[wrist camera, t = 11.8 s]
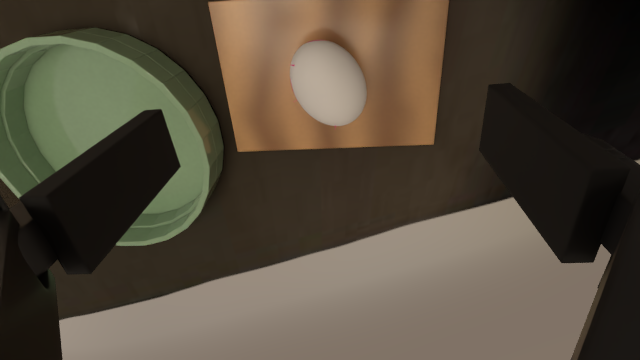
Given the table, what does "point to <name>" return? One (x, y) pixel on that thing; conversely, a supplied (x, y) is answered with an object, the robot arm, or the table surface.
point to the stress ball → (328, 82)
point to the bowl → (104, 117)
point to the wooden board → (355, 37)
